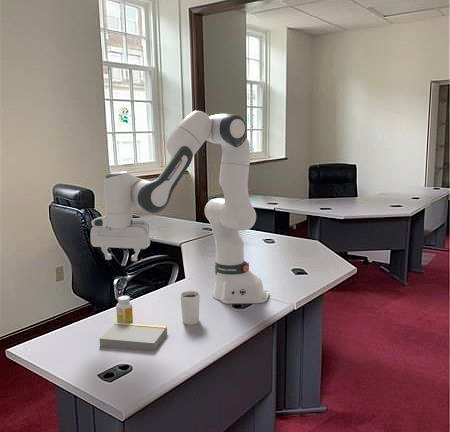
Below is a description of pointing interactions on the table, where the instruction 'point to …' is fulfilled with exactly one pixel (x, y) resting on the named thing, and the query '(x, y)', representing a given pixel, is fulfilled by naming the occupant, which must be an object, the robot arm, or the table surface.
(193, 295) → the white coffee cup
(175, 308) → the table surface
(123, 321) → the supplement bottle
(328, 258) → the table surface
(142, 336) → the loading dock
